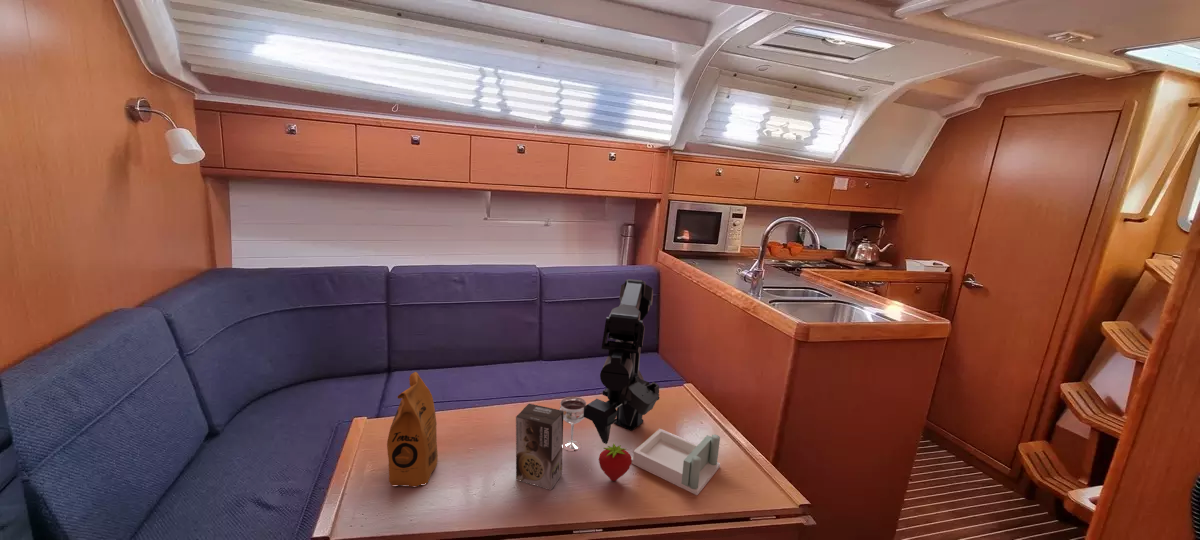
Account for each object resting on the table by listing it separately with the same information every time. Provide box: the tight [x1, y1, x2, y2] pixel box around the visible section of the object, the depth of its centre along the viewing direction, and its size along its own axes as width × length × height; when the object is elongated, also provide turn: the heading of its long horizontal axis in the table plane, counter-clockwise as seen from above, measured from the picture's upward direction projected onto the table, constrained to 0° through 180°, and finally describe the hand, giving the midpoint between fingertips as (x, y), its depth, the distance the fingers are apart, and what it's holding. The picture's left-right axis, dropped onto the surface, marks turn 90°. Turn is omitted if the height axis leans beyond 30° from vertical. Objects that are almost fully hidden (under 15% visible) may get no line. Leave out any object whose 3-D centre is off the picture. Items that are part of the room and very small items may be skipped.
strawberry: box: [598, 443, 632, 482], centre depth 102 cm, size 6×8×10 cm
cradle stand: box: [631, 428, 721, 496], centre depth 109 cm, size 18×13×8 cm
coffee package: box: [386, 371, 439, 487], centre depth 101 cm, size 10×12×22 cm
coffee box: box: [515, 403, 564, 491], centre depth 102 cm, size 9×6×16 cm
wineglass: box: [559, 396, 587, 449], centre depth 114 cm, size 7×7×12 cm
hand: (617, 433), depth 101 cm, fingers open, 9 cm apart
